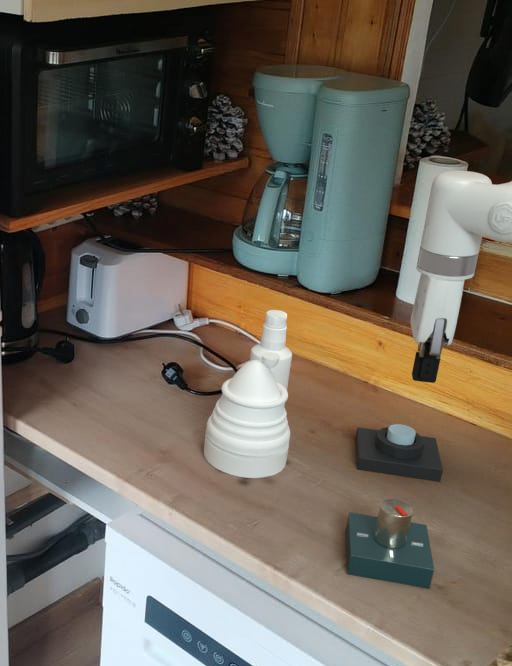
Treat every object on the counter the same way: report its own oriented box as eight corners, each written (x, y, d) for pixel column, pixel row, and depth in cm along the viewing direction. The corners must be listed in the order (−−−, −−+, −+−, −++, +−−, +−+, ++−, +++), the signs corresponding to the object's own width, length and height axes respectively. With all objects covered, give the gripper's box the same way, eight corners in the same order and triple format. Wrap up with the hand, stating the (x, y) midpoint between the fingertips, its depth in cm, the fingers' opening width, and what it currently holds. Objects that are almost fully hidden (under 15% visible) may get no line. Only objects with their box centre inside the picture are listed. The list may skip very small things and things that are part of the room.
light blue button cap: (412, 435, 142) (414, 426, 142) (414, 448, 139) (416, 438, 138) (385, 431, 143) (387, 422, 143) (387, 444, 140) (389, 434, 139)
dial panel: (422, 542, 123) (426, 523, 122) (429, 588, 115) (434, 568, 113) (345, 530, 126) (349, 511, 124) (347, 574, 117) (351, 554, 116)
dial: (367, 532, 120) (374, 498, 118) (394, 528, 121) (402, 495, 119) (384, 550, 117) (391, 516, 114) (412, 546, 117) (420, 512, 115)
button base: (433, 449, 146) (438, 428, 144) (439, 482, 137) (445, 459, 135) (355, 438, 149) (359, 417, 147) (356, 469, 140) (361, 447, 138)
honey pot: (295, 448, 146) (311, 346, 138) (274, 486, 136) (290, 379, 128) (217, 428, 151) (229, 329, 143) (192, 464, 141) (203, 360, 133)
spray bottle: (257, 396, 162) (270, 302, 154) (291, 409, 158) (306, 313, 150) (236, 408, 158) (247, 313, 150) (270, 422, 153) (283, 324, 145)
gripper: (413, 244, 134) (393, 356, 142) (422, 276, 121) (399, 398, 129) (468, 248, 132) (445, 362, 140) (483, 281, 119) (456, 405, 127)
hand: (423, 379), depth 134 cm, fingers closed
